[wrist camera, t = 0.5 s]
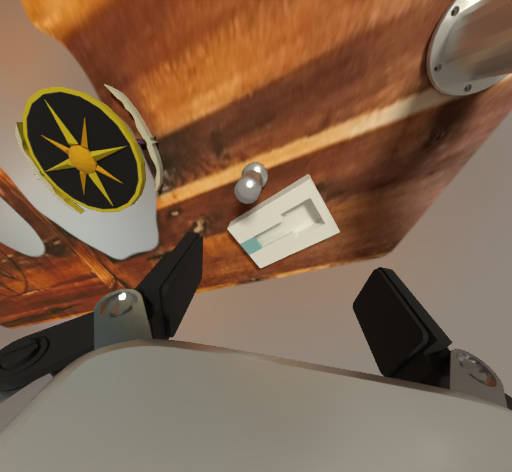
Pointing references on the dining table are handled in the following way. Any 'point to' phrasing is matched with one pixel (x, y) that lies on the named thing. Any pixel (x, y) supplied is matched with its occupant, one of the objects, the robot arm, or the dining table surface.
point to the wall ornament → (86, 149)
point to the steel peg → (251, 182)
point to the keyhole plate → (284, 223)
